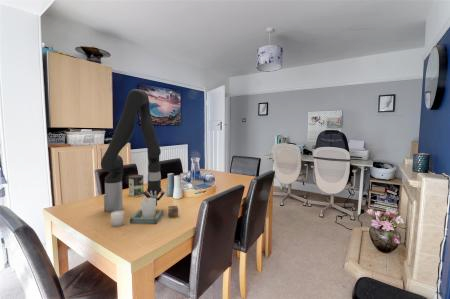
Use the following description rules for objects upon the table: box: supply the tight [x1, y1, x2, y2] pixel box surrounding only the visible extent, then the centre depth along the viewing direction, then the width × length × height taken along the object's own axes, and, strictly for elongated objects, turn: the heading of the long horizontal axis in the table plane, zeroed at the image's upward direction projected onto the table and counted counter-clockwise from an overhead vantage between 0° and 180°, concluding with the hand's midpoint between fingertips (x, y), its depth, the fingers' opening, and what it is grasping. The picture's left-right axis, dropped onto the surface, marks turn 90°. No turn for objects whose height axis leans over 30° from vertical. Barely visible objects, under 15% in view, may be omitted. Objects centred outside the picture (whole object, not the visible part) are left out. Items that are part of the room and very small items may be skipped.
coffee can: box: [128, 174, 145, 198], centre depth 164 cm, size 10×10×14 cm
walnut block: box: [167, 205, 179, 219], centre depth 126 cm, size 5×5×5 cm
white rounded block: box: [110, 210, 125, 227], centre depth 114 cm, size 6×6×6 cm
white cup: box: [140, 197, 157, 218], centre depth 123 cm, size 8×8×10 cm
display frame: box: [129, 209, 165, 225], centre depth 122 cm, size 14×12×2 cm
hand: (154, 206), depth 134 cm, fingers closed
